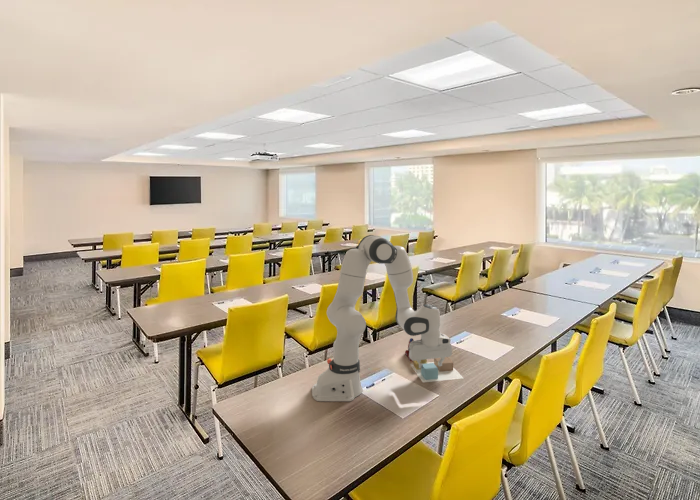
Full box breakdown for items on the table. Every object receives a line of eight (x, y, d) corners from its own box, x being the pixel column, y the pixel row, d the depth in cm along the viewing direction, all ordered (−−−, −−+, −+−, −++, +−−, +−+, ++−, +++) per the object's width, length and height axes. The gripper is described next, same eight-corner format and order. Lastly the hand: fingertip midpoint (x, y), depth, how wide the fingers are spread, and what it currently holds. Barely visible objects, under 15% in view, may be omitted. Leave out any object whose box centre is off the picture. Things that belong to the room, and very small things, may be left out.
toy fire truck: (415, 353, 210) (415, 335, 208) (424, 363, 198) (425, 344, 196) (403, 354, 208) (403, 336, 207) (411, 364, 196) (412, 345, 195)
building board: (422, 384, 176) (423, 374, 175) (409, 366, 194) (409, 356, 194) (464, 380, 179) (464, 370, 178) (447, 362, 198) (447, 353, 197)
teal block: (425, 379, 178) (425, 369, 177) (421, 373, 184) (421, 364, 183) (437, 378, 179) (438, 368, 178) (433, 372, 185) (433, 362, 184)
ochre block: (416, 369, 188) (416, 360, 187) (413, 365, 193) (413, 355, 192) (426, 368, 189) (426, 359, 188) (422, 364, 194) (423, 354, 193)
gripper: (411, 343, 174) (411, 372, 176) (453, 339, 177) (453, 367, 180) (406, 338, 180) (407, 366, 182) (448, 334, 184) (447, 361, 186)
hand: (430, 366), depth 181 cm, fingers open, 8 cm apart
